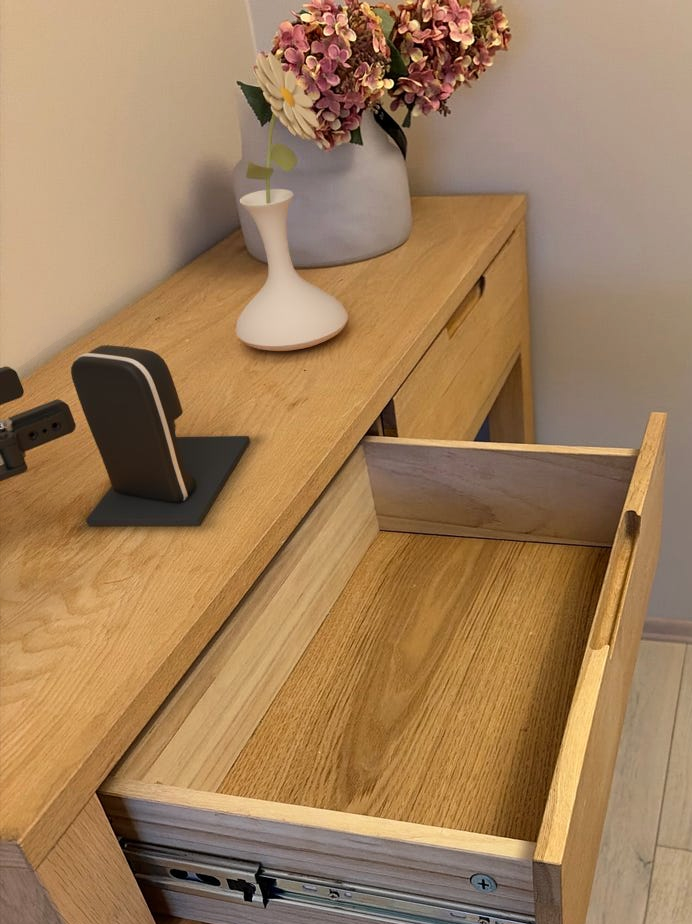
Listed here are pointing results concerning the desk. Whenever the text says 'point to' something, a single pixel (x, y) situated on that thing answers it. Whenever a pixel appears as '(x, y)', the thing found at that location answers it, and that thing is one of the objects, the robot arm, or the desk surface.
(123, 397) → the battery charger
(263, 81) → the flower in vase
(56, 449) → the desk surface
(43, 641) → the desk surface
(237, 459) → the mat
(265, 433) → the desk surface
